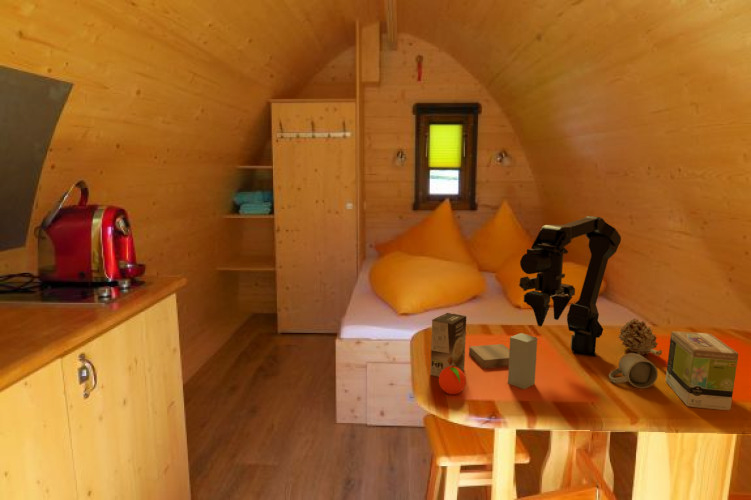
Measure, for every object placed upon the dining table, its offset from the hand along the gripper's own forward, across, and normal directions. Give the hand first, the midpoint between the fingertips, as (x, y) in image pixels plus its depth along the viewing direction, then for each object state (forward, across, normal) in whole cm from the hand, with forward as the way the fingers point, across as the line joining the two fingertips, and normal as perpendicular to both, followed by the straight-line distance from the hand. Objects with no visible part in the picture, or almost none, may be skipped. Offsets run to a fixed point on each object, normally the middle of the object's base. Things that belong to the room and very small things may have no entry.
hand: (548, 322), depth 144 cm
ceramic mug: (+13, -6, +22) cm, 26 cm away
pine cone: (+13, -28, +17) cm, 35 cm away
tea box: (+13, -11, +36) cm, 40 cm away
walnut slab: (+13, +8, -13) cm, 20 cm away
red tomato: (+13, +35, -6) cm, 38 cm away
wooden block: (+13, +16, +2) cm, 21 cm away
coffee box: (+13, +25, -16) cm, 33 cm away
